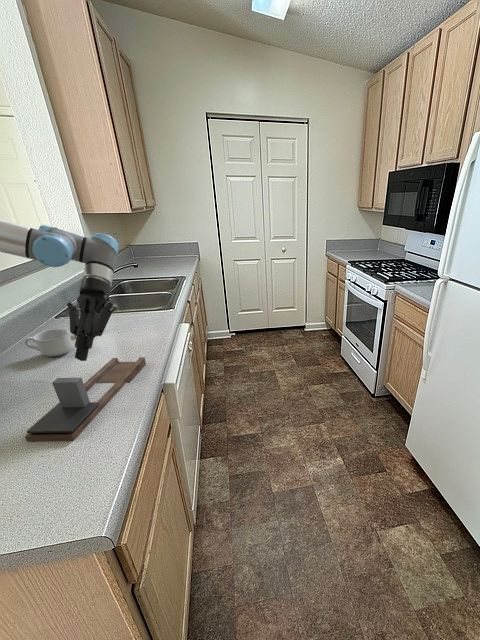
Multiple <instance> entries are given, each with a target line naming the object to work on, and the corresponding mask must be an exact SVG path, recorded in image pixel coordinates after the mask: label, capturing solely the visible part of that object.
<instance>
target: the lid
mask: <svg viewBox="0 0 480 640" xmlns="http://www.w3.org/2000/svg"><path fill="white" fill-rule="evenodd" d="M51 384H52V386H53V388H54V391H55V394H56V396H57V400H58V403H57V404H56V405H55V406H53V407H52V408H51V409H50V410H49V411H48V412H47V413H46V414H44V415H43V416H42V417H40V419H39V420H37V421H36V422H35V423H34V424H33V425H32V426H30V428H28V429H27V430H26V433H27V434H28V433H72V432H73V431H74V430H75V429H76V428H77V427H78V426H79V425H80V424H81V423H82V422H83V421H84V419H85V418H86V417H87V416H88V415H89V414H90V413H91V412H92V411H93V410H94V409H95V408H96V407H97V406H98V405H99V402H98V401H96V402H95V401H93V402H92V401H90V399H89V396H88V391H87V392H86V390H85V387H84V381H83V378H82V377H57V378H56V379H54V381H52V382H51Z"/></svg>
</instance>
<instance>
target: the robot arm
mask: <svg viewBox="0 0 480 640" xmlns="http://www.w3.org/2000/svg"><path fill="white" fill-rule="evenodd" d="M119 249H120V248H119V243H118V241H117V240H116V239H115V238H114V237H113V236H111V235H109V234H107V233H99V232H96V233H94V234H92V235H91V237H86V236H84V235H83V236H82V235H79V234H76V233H73V232H70V231H66V230H64V229H60V228H58V227H56V226H49V225H46V224H41V225H40V226H39V227H38V229H37V228H32V227H30V226H26V225H22V224H18V223H15V222H11V221H7V220H3V219H0V253H4V254H8V255H13V256H16V257H21V258H26V259H29V260H32V261H37V262H39V263H41V264H42V265H43V266H45V267H50V268H60V267H63V266H65V265H67V264H69V263H70V262H71V261H74V262H78V263H81V264H84V268H83V272H82V276H81V281H80V286H79V291H78V292H79V295H78V297H77V298H76V301H74V302H67V303H66V306H67V308H68V311H69V333H71V334H72V335H73V336H75V337H76V338H75V343H74V347H75V348H76V350H75V354H74V359H77V360H78V361H81V362H87V360H88V356H89V355H88V354H89V350H90V349H91V350H92V348H93V344H94V340H95V338H96V337H102V336H103V334H104V331H105V329H106V327H107V325H108V323H109V320H110V318H111V316H112V314H113V313H114V312H115V311H116V309H117V306H116V305H115V304H113V302H111V301H110V297H111V290H112V285H113V280H114V275H115V271H116V270H115V269H116V265H117V260H118V255H119ZM79 312H80V313H79Z"/></svg>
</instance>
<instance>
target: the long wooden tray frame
mask: <svg viewBox="0 0 480 640" xmlns="http://www.w3.org/2000/svg"><path fill="white" fill-rule="evenodd" d="M146 365H147V362H146V357H145V356H144V357H143V356H141V357H139V358H138V359H137V360H136V361H119V358H118V357H112V358H111V359H110V360H108V362H106V364H104V365H103V366H102V367H101V368H100V369H98V370H97V371H96V372H95V373H94V374H93V375H92V376H90V378H88V379H87V381H85V382H83V384H84V387H85V390H86V392H87V393H88V391H89V390H90V389H92V387H94V386H95V384H113V385H112V386H111V387H110V388H109V389H108V390H107V391H106V392H105V393H104V394H103V396H101V398H99V399H98V401H97V402H99V405H98V406H97V407H96V408H95V409H94V410H93V411H92V412H91V413H90V414H89V415H88V416H87V417H86V418H85V419H84V421H83V422H82V423H81V424H80V425H79V426H78V427H77V428H76V429H75V430H74V431H73V432H72V433H67V434H41V433H27V434H26V435H24V438H25V441H26V442H29V443H30V442H32V443H33V442H36V443H37V442H74V441H75V440H76V439H77V438H78V437H79V436H80V435H81V433H82V432H84V430H85V429H86V428H87V427H88V426H89V424H90V423H91V422H92V421H94V419H95V418H96V417H97V416H98V415H99V414H100V413H101V411H102V410H103V409H104V408H105V407H106V406H107V405H108V403H110V401H111V400H112V399H113V398H114V397H115V396H116V395H117V394H118V393H119V392H120V391H121V389H122V388H123V387H124V386H125V385H126V384H130V383H131V382H132V380H133V379H134V378H136V376H138V374H139V373H140V372H141V370H142V369H144V367H145V366H146Z"/></svg>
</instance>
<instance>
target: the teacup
mask: <svg viewBox="0 0 480 640" xmlns="http://www.w3.org/2000/svg"><path fill="white" fill-rule="evenodd" d="M69 333H70V331H69V330H68V329H66V328H51V329H45V330H43V331H41V332H40V331H39V332H38V333H36V334H35V335H34V336H27V337H26V338H25V339H24V344H25V346H26V347H28V348H30V349H32V350H36V351H38V352H39V353H40V354H42V355H44V356H47V357H51V358H54V357H55V358H56V357H60V356H63V355H66V354H67V353H68V352H69V351H70V350H71V348H72V346H73V343H72V339H71V336H70V334H69ZM29 341H32V342H34V344H35V345H33V344H31V343H29Z"/></svg>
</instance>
